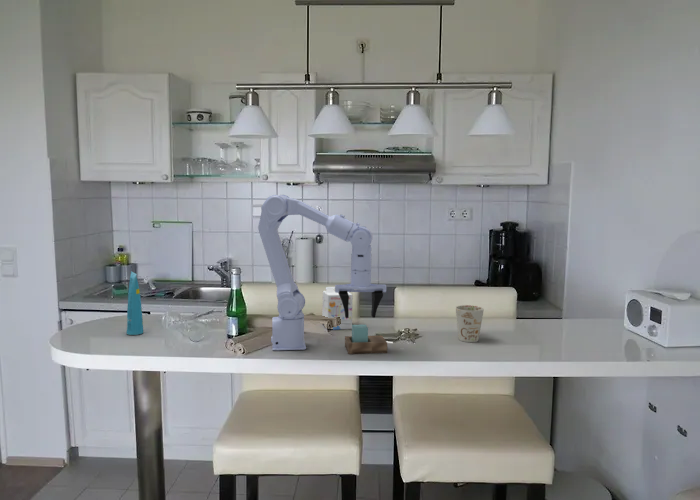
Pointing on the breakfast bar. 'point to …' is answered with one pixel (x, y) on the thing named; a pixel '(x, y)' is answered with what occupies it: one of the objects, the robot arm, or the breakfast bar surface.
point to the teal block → (359, 333)
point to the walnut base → (366, 345)
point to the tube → (134, 308)
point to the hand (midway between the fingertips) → (360, 317)
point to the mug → (469, 322)
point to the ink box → (336, 308)
